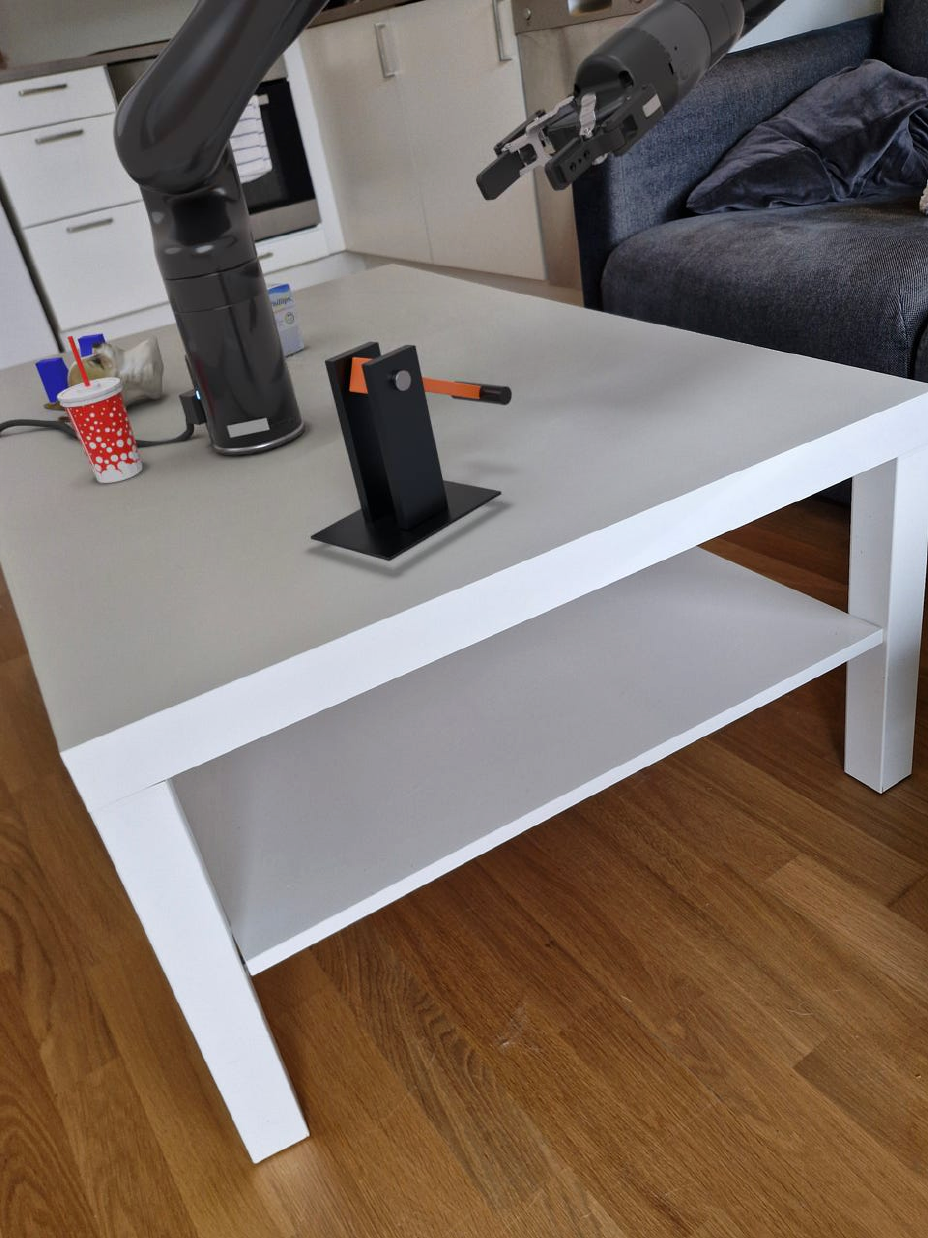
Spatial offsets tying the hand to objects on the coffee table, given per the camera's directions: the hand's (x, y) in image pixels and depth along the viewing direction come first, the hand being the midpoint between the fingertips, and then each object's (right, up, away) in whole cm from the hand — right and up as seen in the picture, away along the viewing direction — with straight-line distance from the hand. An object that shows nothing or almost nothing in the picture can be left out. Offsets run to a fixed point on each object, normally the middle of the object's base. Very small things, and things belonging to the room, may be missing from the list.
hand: (516, 185), depth 80 cm
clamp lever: (-7, -17, -2) cm, 19 cm away
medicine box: (-29, +2, +58) cm, 65 cm away
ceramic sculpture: (-46, -8, +46) cm, 66 cm away
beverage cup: (-39, -19, +25) cm, 50 cm away
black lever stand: (-8, -27, 0) cm, 28 cm away
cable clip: (-55, -4, +58) cm, 80 cm away
